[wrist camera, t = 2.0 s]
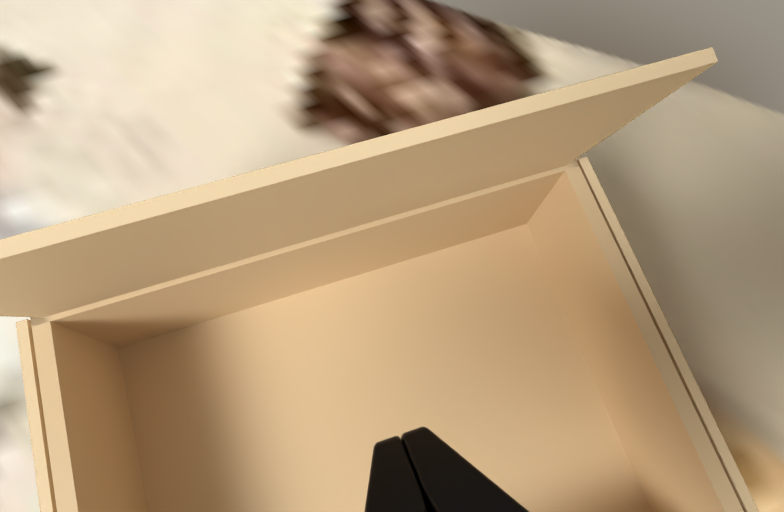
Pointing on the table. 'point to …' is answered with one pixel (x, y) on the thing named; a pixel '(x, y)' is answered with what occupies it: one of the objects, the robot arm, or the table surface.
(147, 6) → the table surface
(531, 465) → the carton
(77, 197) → the table surface
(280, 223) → the flap
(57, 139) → the table surface
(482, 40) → the table surface
